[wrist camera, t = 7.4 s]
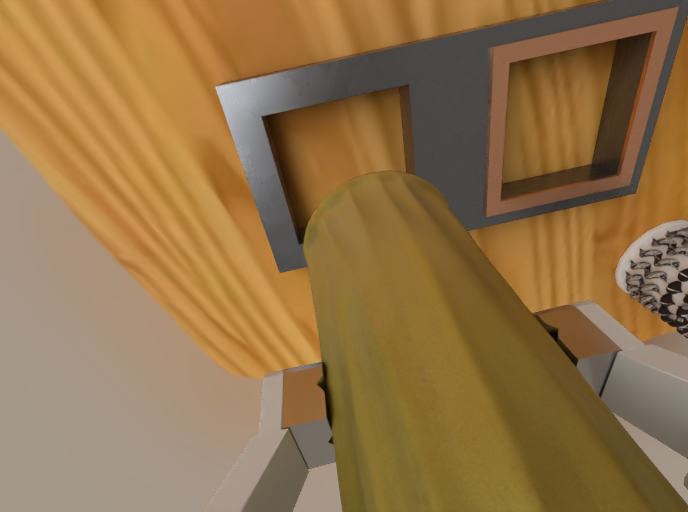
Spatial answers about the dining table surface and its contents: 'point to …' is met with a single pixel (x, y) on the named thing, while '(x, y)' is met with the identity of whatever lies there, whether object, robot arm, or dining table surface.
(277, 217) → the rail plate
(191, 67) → the dining table surface
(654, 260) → the decorative candle
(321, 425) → the robot arm
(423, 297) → the vase
